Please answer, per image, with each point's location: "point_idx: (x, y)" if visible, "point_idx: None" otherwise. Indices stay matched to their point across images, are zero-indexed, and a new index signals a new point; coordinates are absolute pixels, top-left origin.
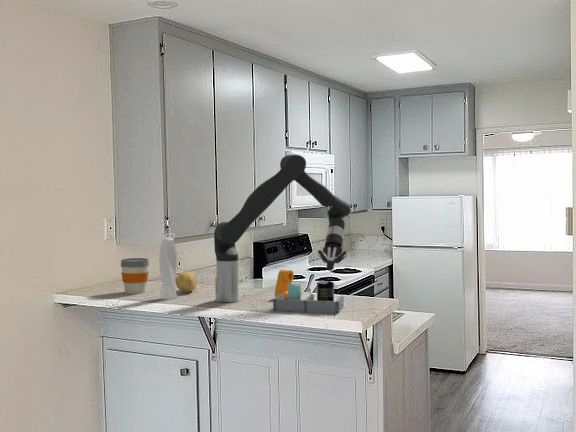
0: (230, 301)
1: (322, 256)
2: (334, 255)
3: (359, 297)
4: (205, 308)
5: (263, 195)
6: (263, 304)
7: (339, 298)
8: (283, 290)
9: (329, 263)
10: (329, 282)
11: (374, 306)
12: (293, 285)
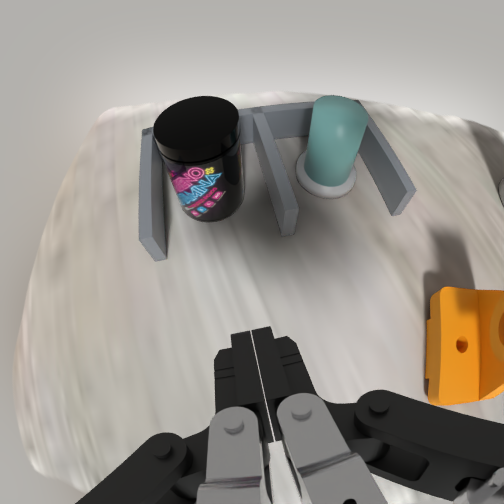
0: (500, 183)
1: (434, 414)
2: (207, 487)
3: None
4: (472, 122)
5: None
6: (434, 188)
7: (146, 175)
8: (483, 324)
9: (266, 365)
10: (175, 126)
11: (54, 307)
12: (337, 104)
